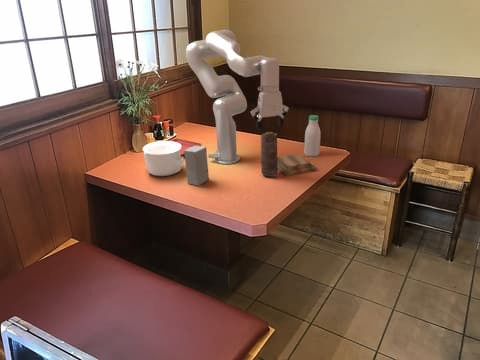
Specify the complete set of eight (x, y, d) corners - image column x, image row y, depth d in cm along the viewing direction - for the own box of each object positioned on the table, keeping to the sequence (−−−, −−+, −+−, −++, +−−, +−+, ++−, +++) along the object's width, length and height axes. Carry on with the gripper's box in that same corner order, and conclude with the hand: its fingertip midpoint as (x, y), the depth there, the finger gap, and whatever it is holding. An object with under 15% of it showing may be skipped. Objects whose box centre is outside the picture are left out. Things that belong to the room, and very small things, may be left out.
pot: (134, 174, 194) (130, 150, 189) (157, 161, 208) (154, 138, 203) (173, 182, 185) (170, 157, 180) (194, 168, 199) (192, 144, 194)
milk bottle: (319, 157, 207) (321, 118, 198) (303, 156, 208) (305, 118, 200) (319, 151, 214) (321, 114, 205) (304, 151, 215) (306, 113, 207)
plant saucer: (202, 149, 223) (202, 143, 222) (181, 160, 209) (180, 154, 208) (177, 143, 232) (176, 138, 231) (154, 154, 218) (154, 148, 217)
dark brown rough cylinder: (266, 179, 185) (266, 137, 177) (258, 173, 191) (257, 132, 182) (280, 175, 188) (281, 134, 180) (272, 170, 194) (272, 129, 186)
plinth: (284, 176, 188) (285, 169, 186) (270, 163, 202) (270, 156, 200) (316, 170, 193) (316, 163, 191) (300, 158, 206) (300, 151, 205)
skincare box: (198, 186, 180) (196, 152, 174) (185, 183, 184) (182, 150, 177) (210, 179, 187) (207, 146, 180) (197, 176, 190) (194, 143, 184)
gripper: (253, 93, 167) (254, 133, 174) (292, 88, 172) (291, 128, 179) (247, 89, 174) (248, 128, 181) (284, 85, 179) (284, 123, 186)
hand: (269, 128), depth 180 cm, fingers open, 9 cm apart
